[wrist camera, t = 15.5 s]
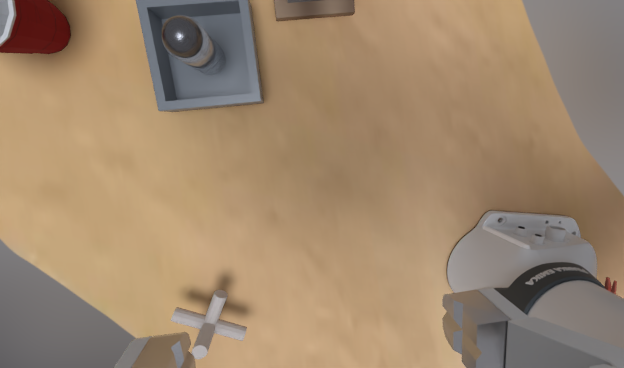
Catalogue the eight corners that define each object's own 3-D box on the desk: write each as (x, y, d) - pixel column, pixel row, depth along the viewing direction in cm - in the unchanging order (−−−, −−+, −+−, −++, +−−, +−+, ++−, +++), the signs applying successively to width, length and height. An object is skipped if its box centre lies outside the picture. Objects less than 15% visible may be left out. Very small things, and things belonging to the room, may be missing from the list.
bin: (251, 5, 38) (246, -11, 33) (263, 103, 40) (260, 101, 36) (154, 13, 37) (135, -3, 32) (173, 111, 40) (158, 110, 35)
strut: (216, 37, 37) (185, -1, 26) (231, 68, 38) (207, 45, 27) (187, 49, 37) (143, 18, 26) (202, 80, 38) (166, 63, 27)
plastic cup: (39, 92, 38) (-72, 80, 26) (-23, 8, 35) (-175, -47, 24) (112, 51, 38) (35, 20, 26) (55, -37, 35) (-59, -115, 23)
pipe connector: (176, 320, 46) (146, 374, 36) (196, 264, 45) (171, 305, 35) (238, 337, 48) (225, 393, 38) (259, 284, 46) (252, 328, 36)
